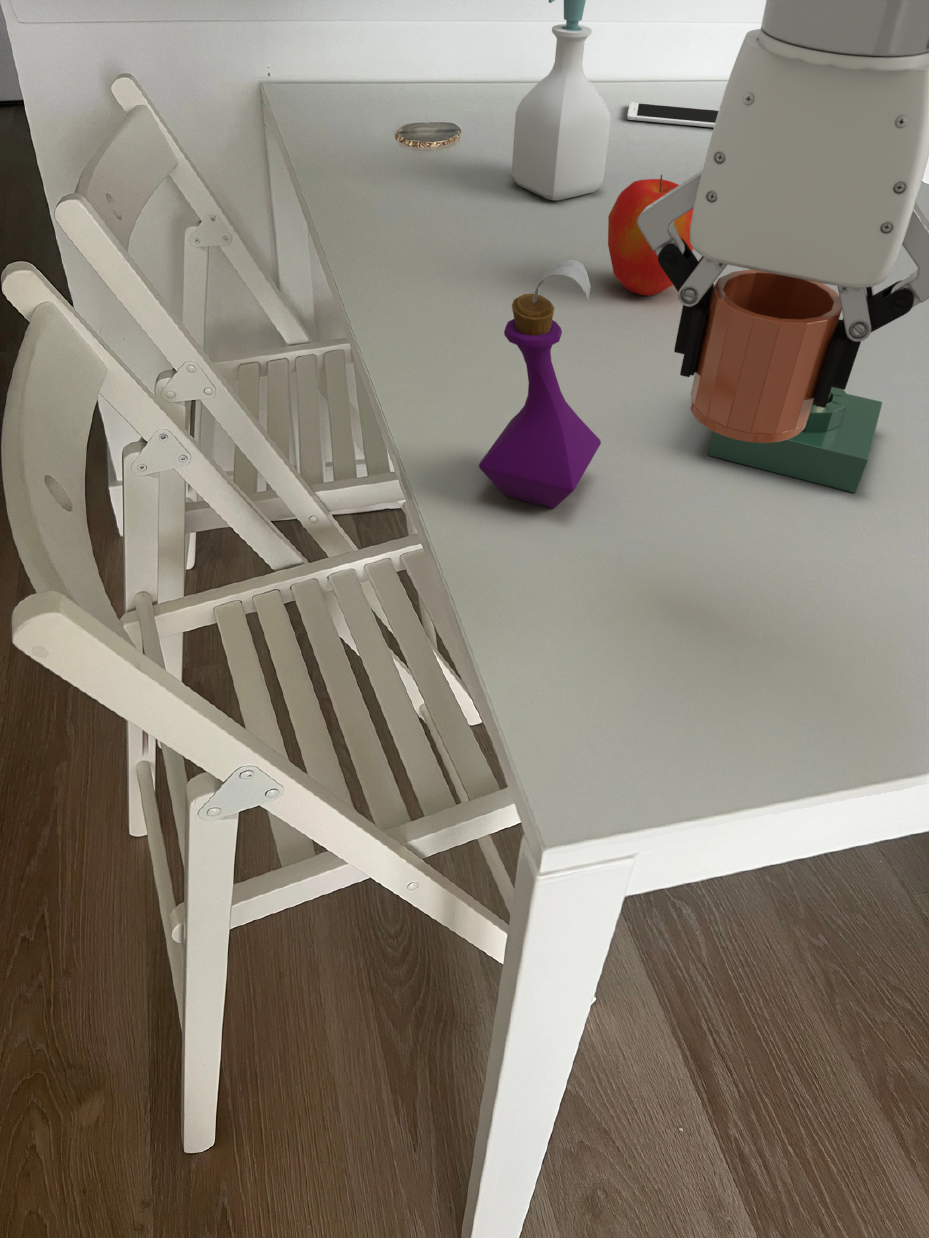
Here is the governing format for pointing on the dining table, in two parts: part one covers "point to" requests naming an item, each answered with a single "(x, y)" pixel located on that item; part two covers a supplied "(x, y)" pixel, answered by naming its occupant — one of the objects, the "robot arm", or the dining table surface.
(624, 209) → the apple
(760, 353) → the cup
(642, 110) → the cell phone
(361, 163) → the dining table surface
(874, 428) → the push button base
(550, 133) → the soap bottle
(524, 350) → the perfume bottle
